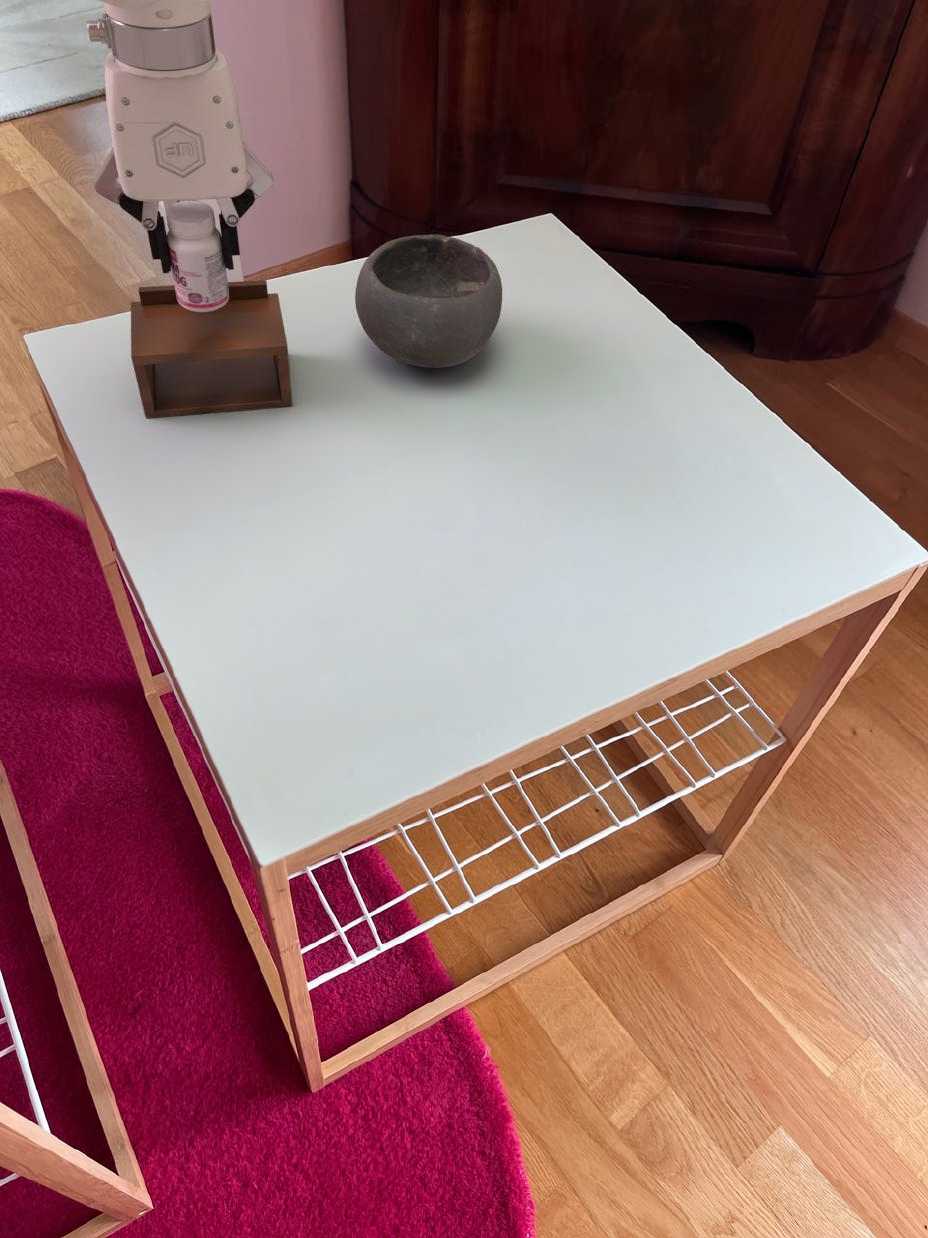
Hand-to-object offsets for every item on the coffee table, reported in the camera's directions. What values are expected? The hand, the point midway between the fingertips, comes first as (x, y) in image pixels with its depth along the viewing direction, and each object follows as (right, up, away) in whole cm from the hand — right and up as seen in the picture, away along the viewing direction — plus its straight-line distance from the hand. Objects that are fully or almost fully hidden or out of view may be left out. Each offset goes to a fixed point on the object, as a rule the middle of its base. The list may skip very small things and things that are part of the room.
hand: (197, 261), depth 85 cm
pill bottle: (0, -3, +3) cm, 4 cm away
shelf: (-1, -9, +10) cm, 13 cm away
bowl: (+20, -4, +16) cm, 26 cm away
